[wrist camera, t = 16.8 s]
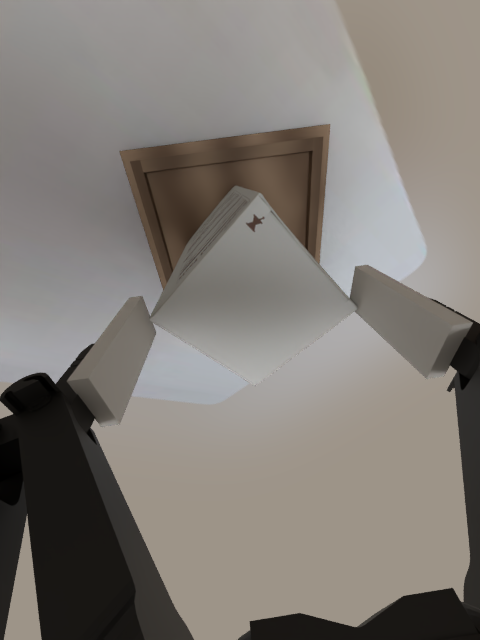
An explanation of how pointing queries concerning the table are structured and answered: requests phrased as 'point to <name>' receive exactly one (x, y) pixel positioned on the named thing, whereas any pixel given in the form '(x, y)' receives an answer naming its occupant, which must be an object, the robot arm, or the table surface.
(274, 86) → the table surface
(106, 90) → the table surface
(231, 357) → the supplement box
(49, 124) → the table surface
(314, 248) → the walnut tray
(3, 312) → the table surface
